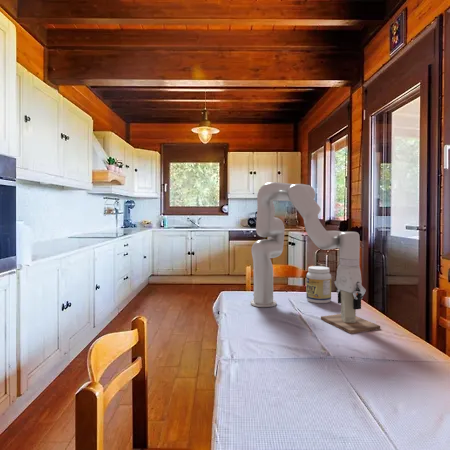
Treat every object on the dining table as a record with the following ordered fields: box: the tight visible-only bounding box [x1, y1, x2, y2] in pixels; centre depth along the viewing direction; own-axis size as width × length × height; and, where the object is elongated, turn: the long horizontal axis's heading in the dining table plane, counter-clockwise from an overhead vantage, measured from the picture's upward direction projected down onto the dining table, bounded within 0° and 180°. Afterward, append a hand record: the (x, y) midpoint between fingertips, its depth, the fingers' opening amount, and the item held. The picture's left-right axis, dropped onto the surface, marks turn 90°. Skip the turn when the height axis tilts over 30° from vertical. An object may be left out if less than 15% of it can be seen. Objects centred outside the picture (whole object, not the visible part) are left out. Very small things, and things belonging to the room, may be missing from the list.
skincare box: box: [340, 291, 357, 323], centre depth 134 cm, size 6×4×12 cm
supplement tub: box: [305, 265, 332, 304], centre depth 170 cm, size 12×12×17 cm
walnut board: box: [320, 313, 381, 335], centre depth 134 cm, size 18×14×1 cm
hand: (349, 305), depth 134 cm, fingers open, 8 cm apart
